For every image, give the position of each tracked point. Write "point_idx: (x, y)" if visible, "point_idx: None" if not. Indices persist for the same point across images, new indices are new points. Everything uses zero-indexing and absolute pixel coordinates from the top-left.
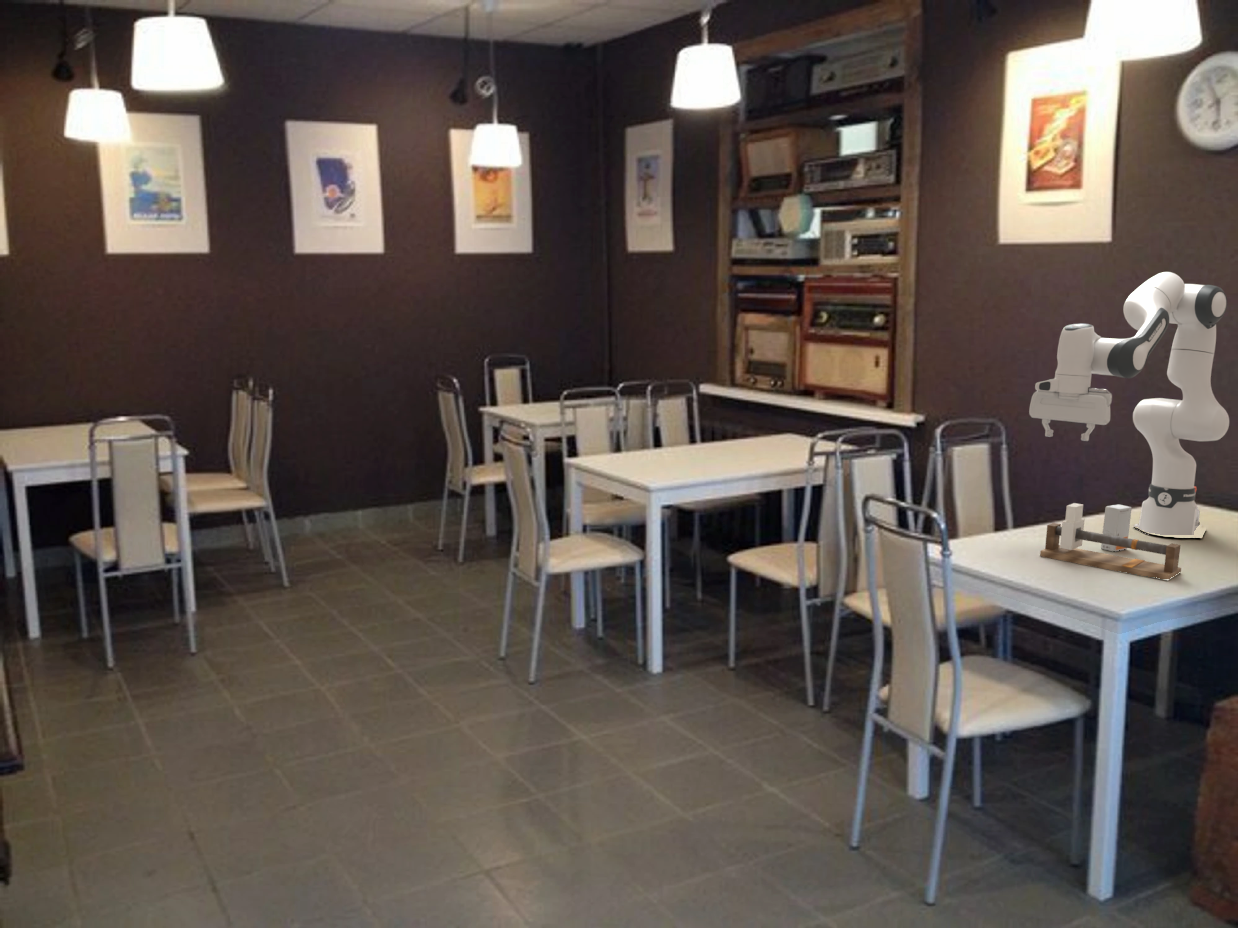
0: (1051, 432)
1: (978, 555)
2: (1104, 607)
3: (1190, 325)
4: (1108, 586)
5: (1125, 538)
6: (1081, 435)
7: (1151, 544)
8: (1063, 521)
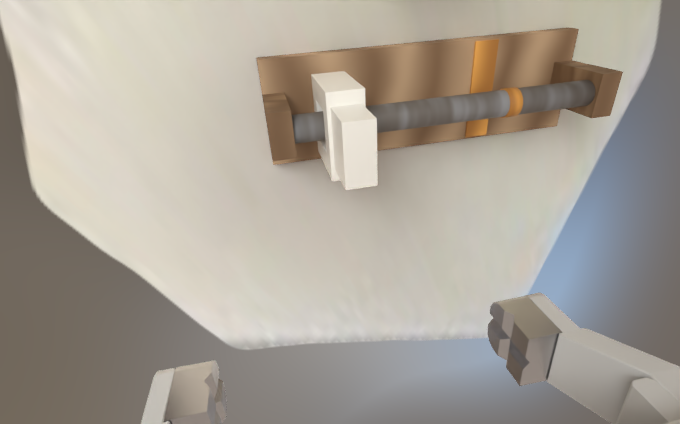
0: (219, 421)
1: (185, 266)
2: (487, 333)
3: None
4: (465, 245)
5: (490, 111)
6: (512, 372)
7: (552, 108)
8: (335, 180)
